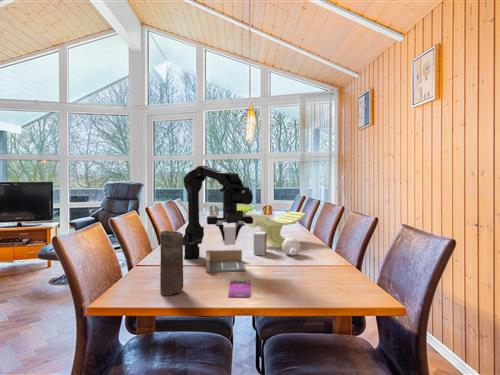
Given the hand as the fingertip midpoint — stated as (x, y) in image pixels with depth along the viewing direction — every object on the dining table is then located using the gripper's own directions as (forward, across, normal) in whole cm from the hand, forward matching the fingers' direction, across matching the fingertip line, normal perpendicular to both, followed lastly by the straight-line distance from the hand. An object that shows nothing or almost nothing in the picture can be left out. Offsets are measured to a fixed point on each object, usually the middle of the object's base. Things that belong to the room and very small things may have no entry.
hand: (229, 240), depth 122 cm
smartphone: (+12, 0, -23) cm, 26 cm away
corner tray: (+12, -1, +4) cm, 13 cm away
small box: (+12, +19, +23) cm, 32 cm away
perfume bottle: (+12, +33, +16) cm, 38 cm away
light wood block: (+2, 0, +3) cm, 3 cm away
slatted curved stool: (+12, +34, +43) cm, 56 cm away
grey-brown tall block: (+12, -22, -21) cm, 33 cm away
